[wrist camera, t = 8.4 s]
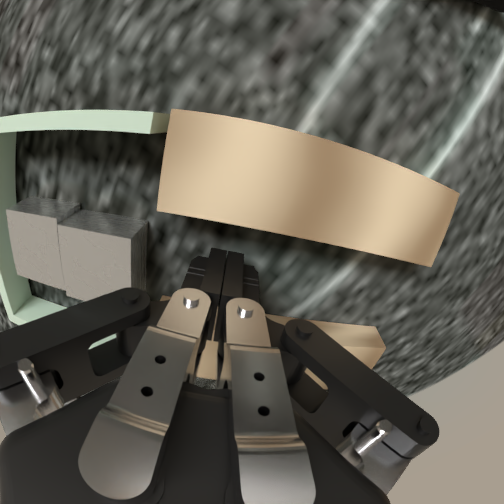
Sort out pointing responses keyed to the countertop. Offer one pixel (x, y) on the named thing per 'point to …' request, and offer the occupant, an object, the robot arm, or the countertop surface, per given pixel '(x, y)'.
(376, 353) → the slot rails
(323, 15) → the countertop surface
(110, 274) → the metal chip
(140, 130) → the box
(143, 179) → the countertop surface
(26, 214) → the metal chip
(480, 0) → the electric trimmer
